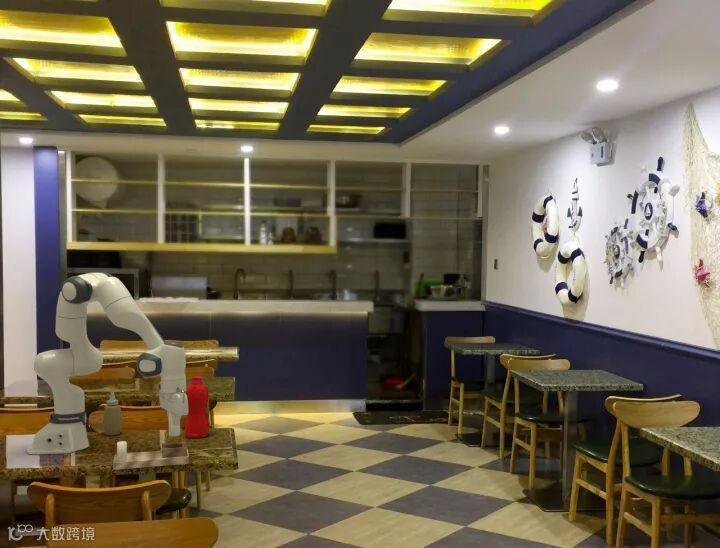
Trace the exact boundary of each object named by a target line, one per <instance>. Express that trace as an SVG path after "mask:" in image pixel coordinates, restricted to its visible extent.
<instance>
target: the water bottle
mask: <svg viewBox="0 0 720 548" xmlns="http://www.w3.org/2000/svg"><path fill="white" fill-rule="evenodd" d="M190 380H191V381H190V382H191V383H190V385H188V386H186V391H184V393H185V394H186V395H187V399H188V414H187V415H186V418H185V419H186V421H185V426H184V434H185V437H186V438H189V439H192V438H193V439H202V438H205V437H207V436H208V435H209V434H210V421H209V419H208V413H207V407H208V408H210V409H211V408H212V406H213V405H211V406H209V405H208V402H209V395H210V399H211V400H210V401H211V402H213V399H212V396H211V395H212V394H211V392H210V390H209V388H208V387H207V385H205V384H204V381H203V377H202V376H199V375H195V376H191V378H190Z"/></svg>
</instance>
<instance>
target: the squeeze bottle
mask: <svg viewBox="0 0 720 548" xmlns="http://www.w3.org/2000/svg"><path fill="white" fill-rule="evenodd" d="M123 426H124V423H123V415H122V407H121V405H120V404H119V400H118V399H116V395H115V392H114V391H111V392H110V394H109V399H107V400H106V405H105V406H104V410H103V418H102V429H103V432H104V434H105V435H106V436H111V437H112V436H116V435H117V436H118V435H120V434H121V431H122V429H123Z"/></svg>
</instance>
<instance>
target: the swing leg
mask: <svg viewBox="0 0 720 548" xmlns="http://www.w3.org/2000/svg"><path fill="white" fill-rule="evenodd" d="M116 443H117V444H116V454H117V461H119V462H122V461H126V460H127V453H128V452H127V449H128V445H127V444H128V443H127V440H126V441H125V440H122V441H121V440H120V441H117V442H116Z"/></svg>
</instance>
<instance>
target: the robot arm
mask: <svg viewBox="0 0 720 548" xmlns="http://www.w3.org/2000/svg"><path fill="white" fill-rule="evenodd" d="M94 302H99V304H100V305H101V307H102V309H103V311H104V312H105V315H106V317H107V318H108V319H109V321H111V323H112V324H113V325H114V326H116V327H117V328H122V329H124V330H125V329H126V330H129V331H132V332H134V333H135V334H138V335H139V337H141V339H142V340H143V342H144V343H145V345H146V346H147V347H148V349H149V350H147V351H145V352H142V353H141V354H139V356H138V357H137V358H136V369H137V372H138V373H139V375H140V376H141V377H144V378H153V377H157V376H160V382H159V383H158V384H157V389H158V390H159V391H158V398H159V405H160V408H161V409H163V410H166V414H167V418H168V419H169V411H170V412H172V413H174V416H175V420H174V425H175V426H179V425H180V426H181V418H182V416H187V415H188V399H187V395H186V394H185V391H186V389H187V375H186V368H187V367H186V366H187V365H186V362H187V360H186V352H185V351H186V350H185V347H184V345H183V344H181V343H179V342H176V341H165V339H164V338H163V336H162V335H161V334H160V333H159V331H158V329H157V328H156V326H155V325H154V324H153V323H152V321H151V320H150V319H149V318H148V316H147V315H146V314H145V313H144V312H143V311H142V310H141V309H140V307H139V305H138V304H137V303H136V301H135V300H134V298H133V296H132V294H131V293H130V291H129V290H128V289H127V287H126V285H124V284H123V282H122V281H121V280H120V279H119V278H118V277H115V276H113V275H112V274H111V273H109V272H105V271H98V272H87V273H85V274H79V275H73V276H70V277H68V278H66V279H64V280H63V281H62V284H61V289H60V292H59V295H58V299H57V304H56V313H55V334H56V337H58V338H59V339H61V340H62V341H64V342H67V343H69V347H68V348H61V349H51V350H46V351H43V352H39V353H38V354H37V355H36V357H35V358H34V361H33V370H34V372H35V374H36V375H37V376H38V377H39V378H40V379H42V380H44V381H45V382H46V384H48V385H49V387H50V389H51V391H52V394H53V395H52V397H53V403H54V404H53V405H54V407H53V408H54V411H51V412H49V414H48V423H47V424H45V426H43V427H42V428H41V429H39V431H38V430H37V432H36V433H35V435H34V436H33V442H32V443H33V444H30V445H29V446H28V447H27V448H26V454H28V455H48V454H49V455H52V454H53V455H54V454H56V455H57V454H71V453H73V452H77V451H80V450H81V451H82V450H84V449H87V448H88V447H90V442H89V438H88V434H87V427H86V425H87V413H86V412H87V410H86V409H85V408H86V405H85V402H86V401H85V391H84V390H83V389H82V388H81V386H78V385H75V384H73V383H70V377H78V376H88V375H90V374H94V373H97V372H99V371H100V370H101V368H102V366H103V362H104V359H103V355H102V353H101V351H100V350H99V349H98V348H96V347H95V346H94V345H93V344H92V343H91V342H90V340H89V337H88V334H87V333H88V331H87V316H88V304H89V303H94Z"/></svg>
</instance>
